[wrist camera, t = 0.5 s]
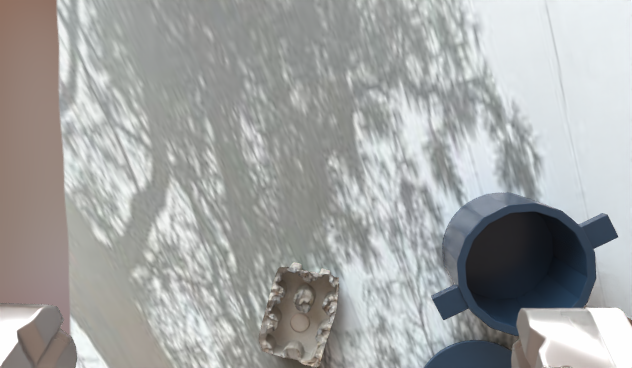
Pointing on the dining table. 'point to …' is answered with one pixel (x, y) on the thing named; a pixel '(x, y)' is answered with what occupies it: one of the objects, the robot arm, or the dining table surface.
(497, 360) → the lid
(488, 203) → the pot
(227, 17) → the dining table surface
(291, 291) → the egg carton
